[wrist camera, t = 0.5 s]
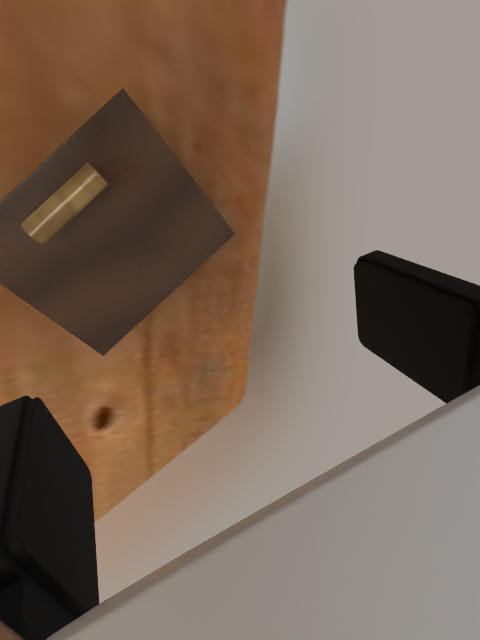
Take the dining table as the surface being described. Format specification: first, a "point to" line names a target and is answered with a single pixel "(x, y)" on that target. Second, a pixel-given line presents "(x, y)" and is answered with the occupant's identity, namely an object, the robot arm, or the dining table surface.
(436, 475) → the robot arm
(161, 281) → the lid
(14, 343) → the dining table surface
